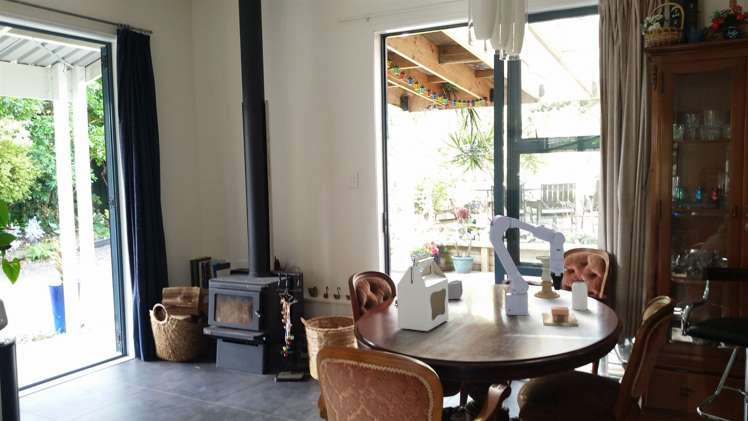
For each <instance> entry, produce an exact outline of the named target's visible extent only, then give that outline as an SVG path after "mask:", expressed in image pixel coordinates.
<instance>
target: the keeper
mask: <svg viewBox="0 0 748 421" xmlns="http://www.w3.org/2000/svg"><path fill="white" fill-rule="evenodd" d="M550 308H551V309H550V311H551V312H550V313H552V319H553V321H557V314H559V315H564V321H567V322H568V316H569V314H570V309H569V306H551V307H550Z"/></svg>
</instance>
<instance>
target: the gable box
mask: <svg viewBox="0 0 748 421" xmlns="http://www.w3.org/2000/svg"><path fill="white" fill-rule="evenodd" d="M434 258H435V256H432V254H431V253H428V254H424V255H421V256H418V257H414V258H413V263H412V264H413V265H411V266H409V267H408V268H407V270H406V271H405V272H404V274H403V276H402V277H401V278H400V280H399V282H398V283H397V285H396V295H397V296H396V298H397V299H396V300H397V304H398V305H397V328H399V329H405V330H415V331H424V332H429V331H431V330H432V329H434V328H435V327H437V326H440V325H441V324H442V323H444V322H446V321H448V320H449V318H450V317H449V299H448V283H449V279H448V277H447V276H446V274H445V273H444V272H443V271H442V269H441V268H440V266H439V265H438V263H437V261H435V260H434ZM421 268H423V269H422V271H421V272H420V269H421Z"/></svg>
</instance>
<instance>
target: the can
mask: <svg viewBox="0 0 748 421" xmlns="http://www.w3.org/2000/svg"><path fill="white" fill-rule="evenodd" d="M588 303H589V302H588V284H587V282H585V281H573V282H572V284H571V305H572V306H571V308H572V310H575V311H587V310H588V308H589V307H588V305H589V304H588Z"/></svg>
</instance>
